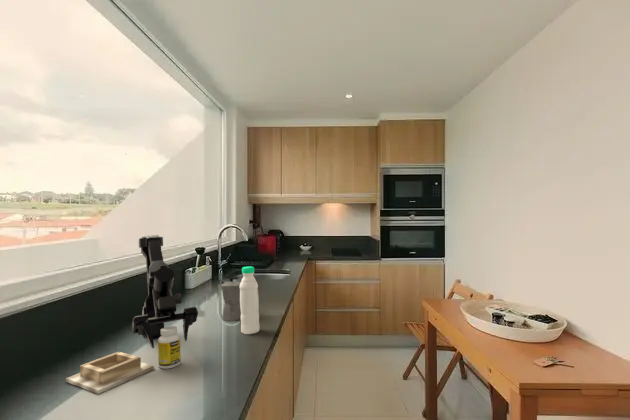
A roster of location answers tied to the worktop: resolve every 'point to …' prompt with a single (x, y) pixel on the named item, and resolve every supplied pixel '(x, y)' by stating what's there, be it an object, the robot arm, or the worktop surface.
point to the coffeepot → (231, 300)
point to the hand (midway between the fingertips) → (169, 343)
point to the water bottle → (249, 302)
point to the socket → (109, 372)
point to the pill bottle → (169, 348)
